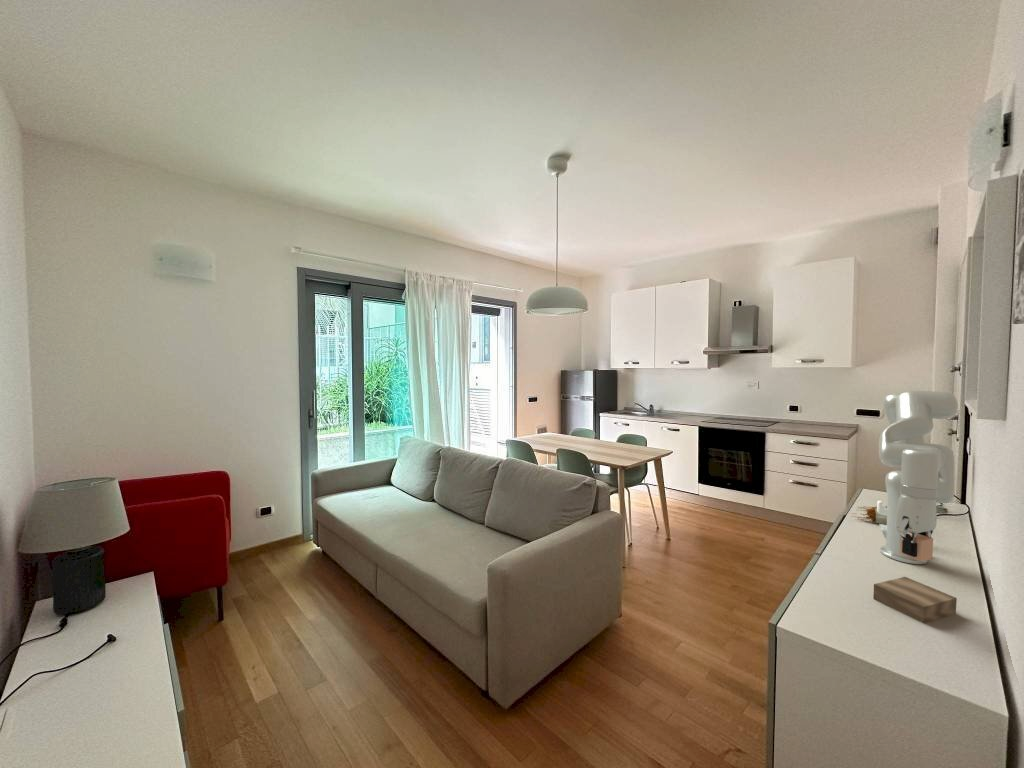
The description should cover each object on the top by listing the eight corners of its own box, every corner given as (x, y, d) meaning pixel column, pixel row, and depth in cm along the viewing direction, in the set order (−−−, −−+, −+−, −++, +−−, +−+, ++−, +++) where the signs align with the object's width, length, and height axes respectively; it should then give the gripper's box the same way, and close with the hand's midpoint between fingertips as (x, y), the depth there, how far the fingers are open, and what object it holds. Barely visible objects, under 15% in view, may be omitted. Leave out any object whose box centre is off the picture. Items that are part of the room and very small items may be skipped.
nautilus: (852, 524, 180) (847, 515, 193) (919, 531, 168) (908, 521, 181) (851, 506, 180) (846, 498, 193) (918, 512, 169) (907, 503, 181)
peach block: (910, 551, 121) (911, 531, 121) (932, 558, 116) (933, 538, 116) (899, 553, 119) (900, 533, 119) (920, 561, 115) (921, 540, 114)
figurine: (909, 543, 159) (910, 506, 158) (876, 537, 165) (878, 501, 164) (906, 537, 165) (907, 501, 164) (875, 531, 171) (876, 496, 170)
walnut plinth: (904, 592, 127) (905, 576, 126) (955, 615, 115) (956, 597, 115) (873, 600, 122) (873, 584, 122) (923, 624, 111) (924, 606, 111)
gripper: (921, 485, 123) (918, 544, 124) (883, 490, 118) (880, 551, 119) (954, 493, 116) (951, 555, 117) (915, 498, 111) (912, 563, 112)
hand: (915, 552), depth 118 cm, fingers closed on peach block, 5 cm apart
